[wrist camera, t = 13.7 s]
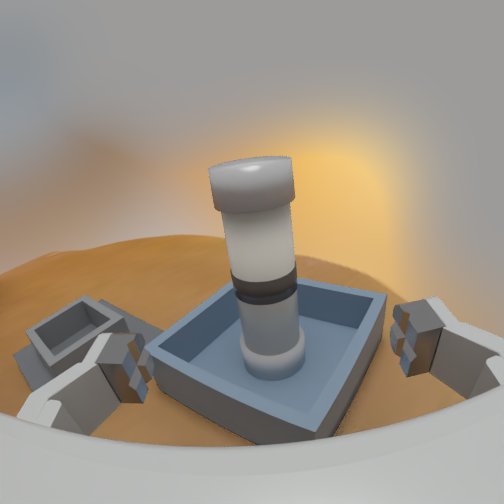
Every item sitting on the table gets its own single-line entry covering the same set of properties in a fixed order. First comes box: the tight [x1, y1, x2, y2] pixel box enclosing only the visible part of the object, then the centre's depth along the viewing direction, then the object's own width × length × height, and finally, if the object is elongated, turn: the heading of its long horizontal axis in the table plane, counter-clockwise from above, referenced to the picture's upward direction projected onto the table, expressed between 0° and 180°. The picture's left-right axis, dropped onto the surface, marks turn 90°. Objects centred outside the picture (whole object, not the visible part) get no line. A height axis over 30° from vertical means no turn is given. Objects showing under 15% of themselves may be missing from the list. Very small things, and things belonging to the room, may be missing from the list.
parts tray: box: [144, 278, 387, 445], centre depth 20 cm, size 12×12×4 cm
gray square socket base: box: [13, 295, 164, 392], centre depth 22 cm, size 12×12×4 cm
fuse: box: [208, 156, 305, 381], centre depth 18 cm, size 4×4×13 cm
